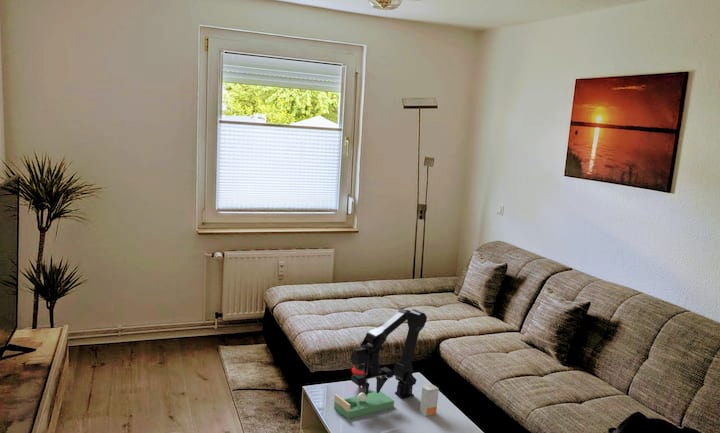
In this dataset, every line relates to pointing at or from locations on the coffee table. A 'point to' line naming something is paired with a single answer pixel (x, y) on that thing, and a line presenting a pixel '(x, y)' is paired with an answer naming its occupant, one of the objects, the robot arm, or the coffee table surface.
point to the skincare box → (429, 400)
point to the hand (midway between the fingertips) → (371, 394)
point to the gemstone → (357, 372)
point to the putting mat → (362, 404)
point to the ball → (362, 397)
